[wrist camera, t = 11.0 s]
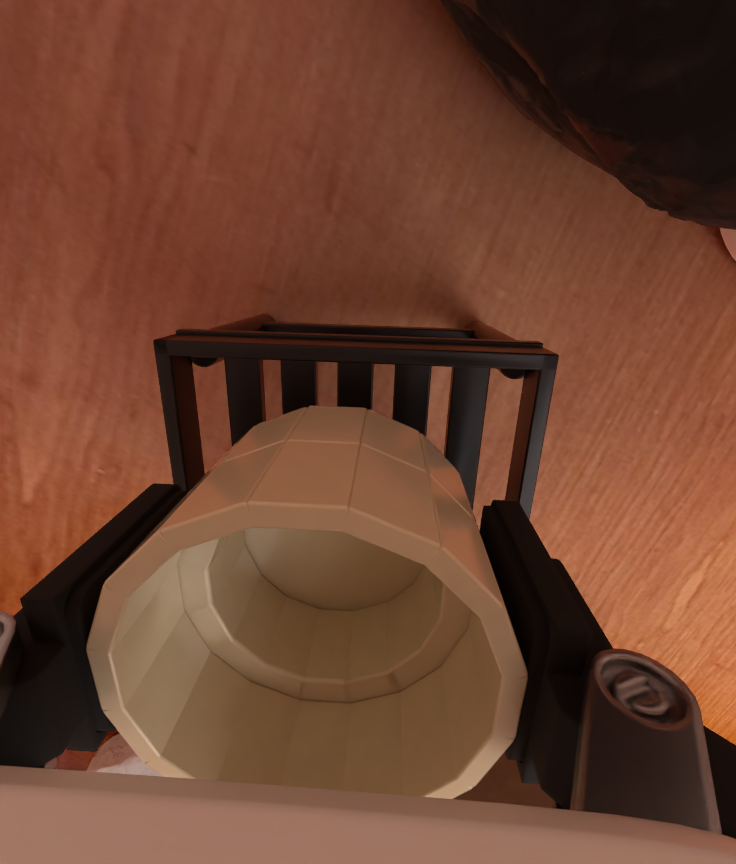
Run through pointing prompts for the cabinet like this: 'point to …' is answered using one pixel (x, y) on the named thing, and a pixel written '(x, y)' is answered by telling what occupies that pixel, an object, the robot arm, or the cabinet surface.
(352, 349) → the rack
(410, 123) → the cabinet surface
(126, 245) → the cabinet surface
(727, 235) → the mug
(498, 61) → the decorative stone
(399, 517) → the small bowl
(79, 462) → the cabinet surface
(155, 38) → the cabinet surface
